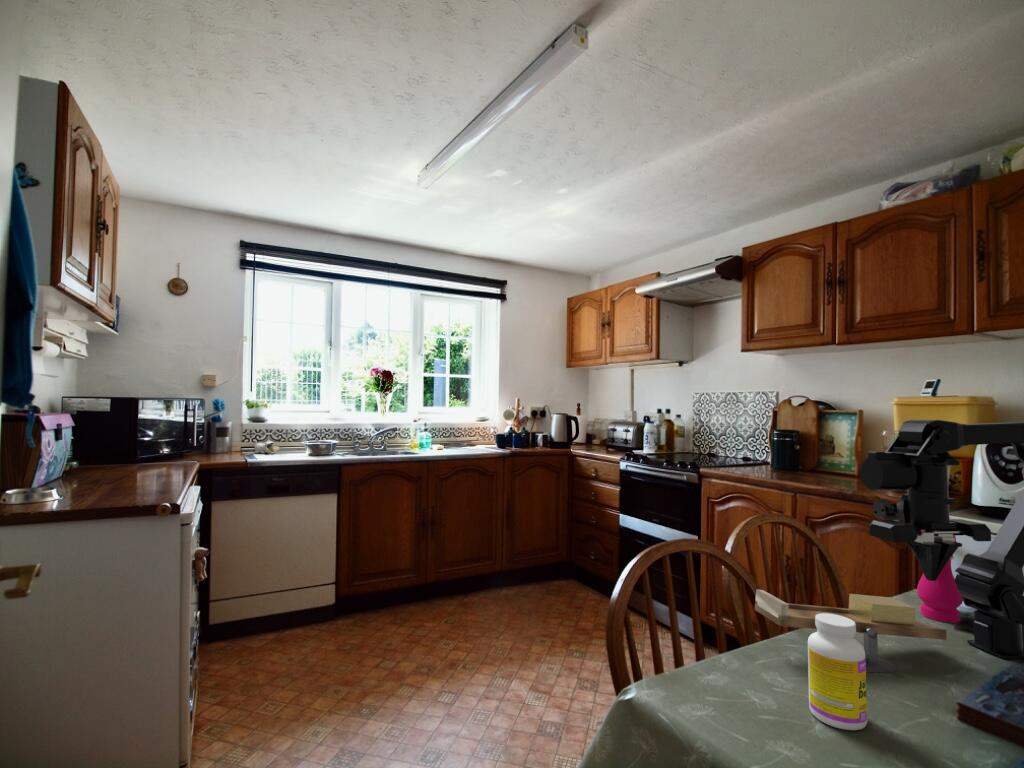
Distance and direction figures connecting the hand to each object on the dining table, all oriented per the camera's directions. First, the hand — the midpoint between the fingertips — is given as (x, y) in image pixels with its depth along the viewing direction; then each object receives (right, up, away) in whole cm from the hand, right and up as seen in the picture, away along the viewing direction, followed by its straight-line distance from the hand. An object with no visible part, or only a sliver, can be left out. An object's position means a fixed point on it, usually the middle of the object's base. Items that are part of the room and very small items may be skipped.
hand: (930, 580), depth 91 cm
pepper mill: (+14, -13, +15) cm, 25 cm away
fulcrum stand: (-16, -12, -3) cm, 20 cm away
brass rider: (-10, -6, -2) cm, 12 cm away
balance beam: (-16, -6, -2) cm, 17 cm away
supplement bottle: (-30, -11, -21) cm, 38 cm away
